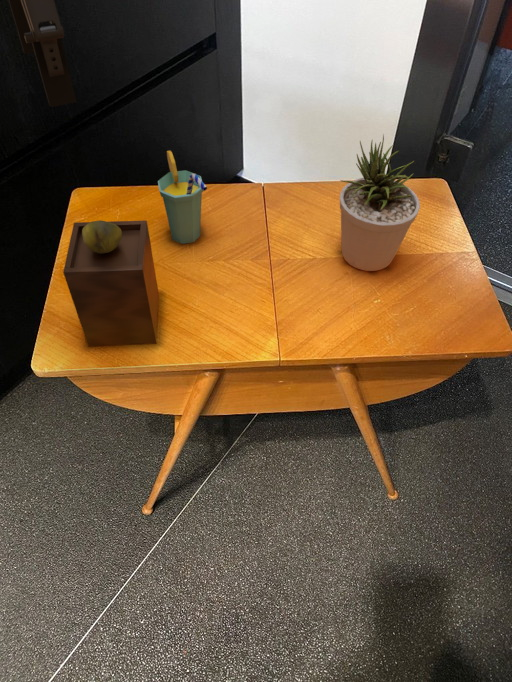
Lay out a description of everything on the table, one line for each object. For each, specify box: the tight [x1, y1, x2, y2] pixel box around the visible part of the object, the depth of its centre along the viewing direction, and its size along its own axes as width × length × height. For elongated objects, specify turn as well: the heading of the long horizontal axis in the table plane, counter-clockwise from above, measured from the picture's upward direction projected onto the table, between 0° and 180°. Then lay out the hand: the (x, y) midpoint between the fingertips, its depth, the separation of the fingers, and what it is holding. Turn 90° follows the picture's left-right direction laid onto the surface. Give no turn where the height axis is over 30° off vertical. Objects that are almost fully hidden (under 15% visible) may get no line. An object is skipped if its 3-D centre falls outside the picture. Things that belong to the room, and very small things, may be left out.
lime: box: [82, 220, 122, 254], centre depth 71 cm, size 4×5×5 cm
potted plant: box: [339, 133, 421, 272], centre depth 88 cm, size 13×14×20 cm
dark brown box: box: [63, 220, 160, 348], centre depth 78 cm, size 10×10×15 cm
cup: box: [157, 150, 208, 245], centre depth 91 cm, size 14×8×15 cm, turn 36°
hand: (48, 75), depth 61 cm, fingers open, 13 cm apart
